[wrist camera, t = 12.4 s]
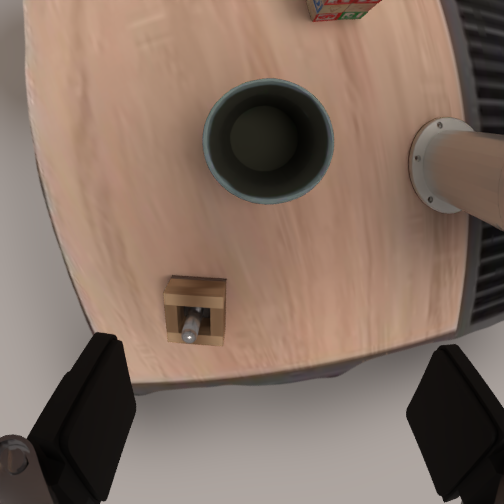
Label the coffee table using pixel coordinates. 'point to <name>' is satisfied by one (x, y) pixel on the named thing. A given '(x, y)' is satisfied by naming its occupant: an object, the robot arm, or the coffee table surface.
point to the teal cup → (268, 141)
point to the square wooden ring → (196, 296)
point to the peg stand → (194, 313)
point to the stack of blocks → (339, 9)
